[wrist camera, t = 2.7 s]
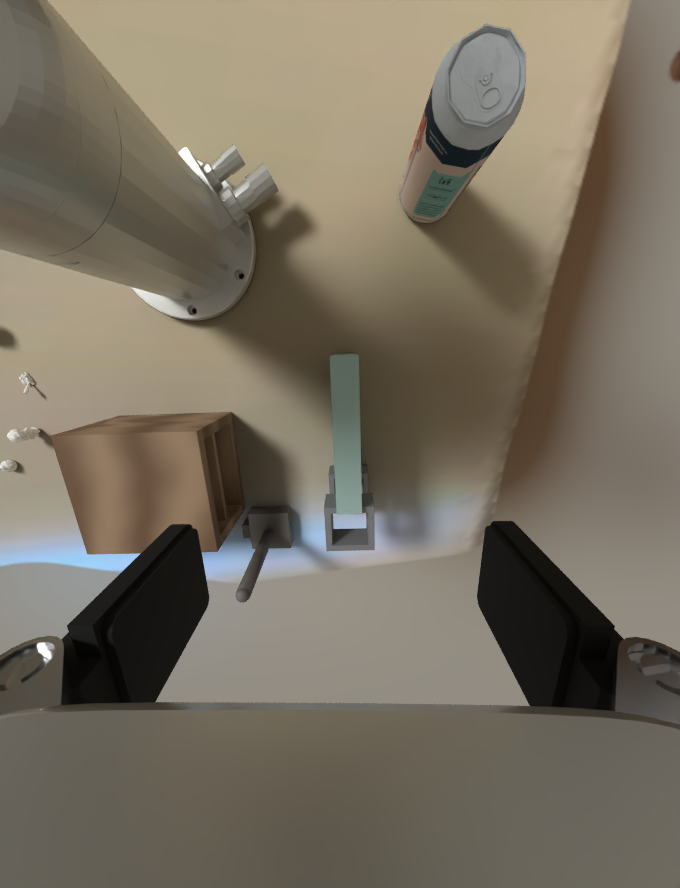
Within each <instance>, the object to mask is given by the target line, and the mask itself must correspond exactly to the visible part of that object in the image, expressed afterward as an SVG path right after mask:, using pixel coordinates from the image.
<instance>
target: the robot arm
mask: <svg viewBox="0 0 680 888" xmlns="http://www.w3.org/2000/svg"><path fill="white" fill-rule="evenodd" d="M220 155H221V156H219V157H218V158H217V159H216V160H215V161H213V162H212V163H211V164H210V165H209V163H208V162H207V161H206V162H205V163H203V162H202V161H200V160H197V159H195V157H194V156H193V155H192V154H191V152H190V151H189V150H188V149H187V148H186V147H185V148H183V149H182V150H181V151H180V152H179V153H178V152H177V151H176V150H175V149H174V147H173V146H172V145H171V144H170V143H169V142H168V140H167V139H166V138H165V137H164V136H163V135H162V133H161V132H160V131H159V130H158V129H157V128H156V126H155V125H154V124H153V123H152V122H151V121H150V119H149V118H148V117H147V116H146V115H145V113H144V112H143V111H142V110H141V109H140V108H139V106H138V105H137V104H136V103H135V102H134V101H133V99H132V98H131V97H130V96H129V95H128V94H127V92H126V91H125V90H124V89H123V88H122V87H121V85H120V84H119V83H118V82H117V81H116V80H115V78H114V77H113V76H112V75H111V74H110V73H109V71H108V70H107V69H106V68H105V67H104V66H103V64H102V63H101V62H100V61H99V60H98V59H97V57H96V56H95V55H94V54H93V53H92V52H91V50H90V49H89V48H88V47H87V46H86V45H85V43H84V42H83V41H82V40H81V39H80V38H79V36H78V35H77V34H76V33H75V32H74V30H73V29H72V28H71V27H70V26H69V24H68V23H67V22H66V21H65V20H64V19H63V17H62V16H61V15H60V14H59V13H58V12H57V11H56V10H55V8H54V7H53V6H52V5H51V4H50V3H49V2H48V1H47V0H0V249H2V250H6V251H9V252H12V253H16V254H19V255H23V256H26V257H29V258H33V259H36V260H40V261H43V262H47V263H50V264H54V265H57V266H61V267H64V268H67V269H71V270H74V271H78V272H81V273H85V274H88V275H92V276H95V277H99V278H102V279H105V280H109V281H112V282H116V283H119V284H123V285H126V286H130V287H131V288H132V290H133V291H134V292H135V293H136V294H137V295H138V296H139V297H140V298H141V299H142V300H143V301H144V302H145V303H146V304H148V305H149V306H151V307H153V308H154V309H156V310H157V311H159V312H161V313H163V314H166V315H168V316H171V317H174V318H179V319H184V320H193V321H197V320H207V319H210V318H214V317H217V316H219V315H221V314H223V313H225V312H226V311H228V310H230V309H231V308H232V307H233V306H234V305H235V304H236V303H237V302H238V301H239V300H240V299H241V297H242V296H243V294H244V293H245V292H246V290H247V288H248V286H249V284H250V281H251V279H252V276H253V272H254V268H255V262H256V241H255V233H254V229H253V226H252V222H251V218H250V216H249V214H248V213H249V212H250V211H251V210H253V209H254V208H255V207H257V206H258V205H259V204H262V203H264V202H265V201H266V200H267V199H269V198H270V197H271V196H273V195H274V194H275V193H276V192H278V188H277V186H276V184H275V182H274V180H273V179H272V177H271V175H270V173H269V171H268V170H267V168H266V166H265V165H264V163H262V164H261V165H260V166H259V167H257V168H256V169H255V170H254V171H252V172H251V173H250V174H249V175H247V176H246V177H245V180H244V181H243V182H241V183H240V184H239V185H238V186H236V187H235V188H234V189H233V187H232V186H231V185H230V184H229V182H228V181H227V180H226V179H227V178H228V177H229V176H231V175H232V174H233V175H234V174H235V173H236V172H237V171H238V170H240V169H241V168H242V167H243V166H244V165H245V163H244V161H243V160H242V158H241V156H240V154H239V153H238V151H237V149H236V147H235V146H234V144H232V145H230V146H229V147H228V148H227V149H226V150H225V151H223V152H222V153H221V154H220ZM241 274H244V278H243V279H240V275H241ZM195 309H197V313H196V314H195V313H194V310H195ZM477 598H478V604H479V607H480V609H481V611H482V613H483V615H484V617H485V619H486V621H487V623H488V625H489V627H490V629H491V631H492V633H493V635H494V637H495V639H496V641H497V642H498V644H499V646H500V648H501V650H502V652H503V654H504V656H505V658H506V660H507V662H508V664H509V666H510V668H511V670H512V672H513V674H514V676H515V678H516V680H517V681H518V684H519V685H520V687H521V689H522V691H523V693H524V695H525V697H526V699H527V701H528V703H529V705H530V706H508V705H450V704H445V705H444V704H377V703H371V704H370V703H230V702H227V703H224V702H222V703H221V702H220V703H219V702H214V703H212V702H211V703H210V702H205V703H203V702H192V703H191V702H186V703H185V702H175V703H174V702H170V703H169V702H163V703H162V702H155V701H156V700H157V698H158V696H159V694H160V692H161V690H162V689H163V687H164V685H165V683H166V681H167V679H168V678H169V676H170V674H171V672H172V670H173V669H174V667H175V665H176V663H177V661H178V659H179V658H180V656H181V654H182V652H183V650H184V649H185V647H186V645H187V643H188V641H189V639H190V638H191V636H192V634H193V632H194V630H195V629H196V627H197V625H198V623H199V621H200V620H201V618H202V616H203V614H204V612H205V610H206V608H207V606H208V602H209V593H208V587H207V581H206V576H205V570H204V564H203V558H202V553H201V547H200V541H199V535H198V531H197V529H195V528H194V529H193V527H192V525H190V524H171V525H170V526H169V527H168V528H167V529H166V530H164V531H163V532H162V533H161V534H160V535H159V536H158V537H157V538H156V539H155V540H154V541H153V542H152V543H151V544H150V545H149V546H148V547H147V548H146V549H145V550H144V551H143V552H142V553H141V554H140V555H139V556H138V557H137V558H136V559H135V560H134V561H133V562H132V563H131V564H130V565H129V566H128V567H127V568H126V569H125V570H124V571H123V572H122V573H120V574H119V576H117V578H115V579H114V580H113V581H112V582H111V583H110V584H109V585H108V586H107V587H106V588H105V589H104V590H103V591H102V592H101V593H100V594H99V595H98V596H97V597H96V598H95V599H94V600H93V601H92V602H91V603H90V604H89V605H88V606H87V607H86V608H85V609H84V610H83V611H82V612H81V613H80V614H79V615H77V616H76V618H75V619H73V620H72V621H71V622H70V623H69V624H68V625H67V627H68V630H69V633H68V634H67V635H66V636H65V637H64V638H63V639H62V640H61V639H59V638H58V637H54V636H46V637H39V638H36V639H32V640H30V641H27V642H24V643H22V644H20V645H18V646H16V647H14V648H11V649H10V650H8V651H7V652H5V653H3V654H2V655H0V888H680V652H679V651H677V650H675V649H672V648H671V647H669V646H666V645H664V644H662V643H659V642H656V641H653V640H650V639H646V638H639V637H630V638H626V639H623V638H622V637H621V636H620V635H619V634H618V633H617V632H616V631H615V630H614V627H615V626H614V625H613V624H612V623H611V622H610V621H609V620H608V619H607V618H606V617H605V615H604V614H603V613H602V612H601V611H600V610H599V609H598V608H597V607H596V606H595V605H594V604H593V603H592V602H591V601H590V600H589V599H588V598H587V597H586V596H585V595H584V594H583V593H582V592H581V591H580V590H579V589H578V588H577V587H576V586H575V585H574V584H573V583H572V581H571V580H570V579H569V578H568V577H567V576H566V575H565V574H564V573H563V572H562V571H561V570H560V569H559V568H558V567H557V566H556V565H555V564H554V563H553V562H552V561H551V560H550V559H549V558H548V557H547V556H546V555H545V554H544V553H543V552H542V551H541V550H540V549H539V547H537V545H536V544H535V543H534V542H533V541H531V539H530V538H529V537H528V536H527V535H526V534H525V533H524V532H523V531H522V530H521V529H520V528H519V527H518V526H517V525H516V524H515V523H514V522H513V521H493V522H492V523H491V525H490V526H487V527H486V528H485V535H484V543H483V552H482V560H481V568H480V576H479V585H478V594H477Z"/></svg>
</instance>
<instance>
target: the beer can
mask: <svg viewBox="0 0 680 888" xmlns="http://www.w3.org/2000/svg"><path fill="white" fill-rule="evenodd" d="M525 78H526V52H525V51H524V49H523V48H522V46H521V44H520V43H519V41H518V40H517V38H516V36H515V35H514V33H513V32H512V30H511V29H508V28H503V27H499V26H494V25H489V24H485V25H483V26H481V27H480V28H478V29H477V30H475V31H474V32H472V33H470V34H469V35H467V36H465V37H463V38H462V39H461V40H460V41H458V42H457V43H456V44H455V45H454V46H453V47H452V48H451V49H450V50H449V51H448V53H447V54H446V55H445V57H444V58H443V60H442V62H441V64H440V66H439V68H438V71H437V73H436V75H435V79H434V83H433V86H432V89H431V92H430V95H429V98H428V101H427V104H426V107H425V110H424V114H423V117H422V120H421V123H420V126H419V129H418V132H417V135H416V138H415V141H414V144H413V147H412V150H411V153H410V156H409V159H408V162H407V165H406V169H405V172H404V175H403V178H402V180H401V184H400V201H401V204H402V207H403V209H404V211H405V212H406V214H407V215H408V216H409V217H410V218H411V219H413V220H415V221H417V222H420V223H432V222H435V221H437V220H439V219H440V218H442V217H443V216H445V215H446V214H447V212H448V211H449V210H450V208H451V207H452V206H453V204H454V203H455V201H456V200H457V199H458V197H459V196H460V195H461V193H462V192H463V191H464V189H465V188H466V187H467V185H468V184H469V183H470V181H471V180H472V178H473V177H474V176H475V174H476V173H477V172H478V170H479V169H480V168H481V166H482V165H483V164H484V162H485V161H486V160H487V158H488V157H489V155H490V154H491V153H492V151H493V150H494V149H495V147H496V146H497V145H498V143H499V142H500V141H501V139H502V138H503V137H504V135H505V134H506V133H507V131H508V130H509V129H510V127H511V126H512V125H513V123H514V121H515V119H516V117H517V115H518V113H519V111H520V109H521V105H522V102H523V99H524V92H525V82H526V79H525Z"/></svg>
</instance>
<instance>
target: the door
mask: <svg viewBox="0 0 680 888" xmlns="http://www.w3.org/2000/svg"><path fill="white" fill-rule="evenodd" d="M329 359H330V381H331V403H332V424H333V446H334V466H330V470H329V487H330V494H326V499H325V506H324V513H325V530H326V547H327V551H349V550H375V540H374V503H373V497H372V493H369V484H368V469H367V465H361V436H360V386H359V355H358V354H355V353H350V354H334V355H331V356H329ZM361 478H362V480H363V493H362V485H361ZM333 513H337V514H362V513H366V520H367V528H365V529H334V528H333Z"/></svg>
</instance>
